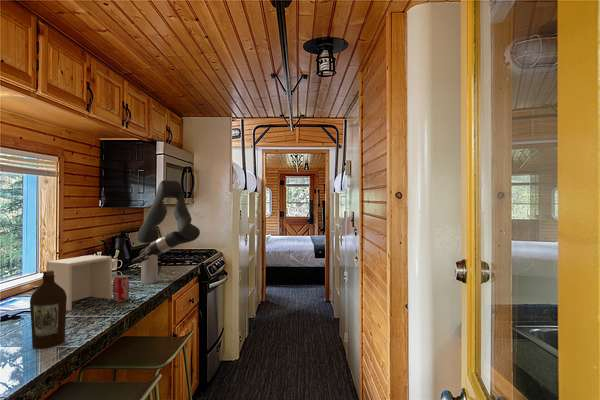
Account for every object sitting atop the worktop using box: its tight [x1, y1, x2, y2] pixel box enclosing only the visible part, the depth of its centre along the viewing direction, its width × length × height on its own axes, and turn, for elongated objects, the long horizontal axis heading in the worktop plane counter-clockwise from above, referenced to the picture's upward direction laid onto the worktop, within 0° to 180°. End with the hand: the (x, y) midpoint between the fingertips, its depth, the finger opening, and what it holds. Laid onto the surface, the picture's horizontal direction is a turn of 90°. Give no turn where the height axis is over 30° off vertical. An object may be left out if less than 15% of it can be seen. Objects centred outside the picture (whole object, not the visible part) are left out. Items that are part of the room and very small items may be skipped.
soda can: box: [112, 274, 130, 303], centre depth 184 cm, size 7×7×12 cm
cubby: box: [46, 254, 113, 312], centre depth 180 cm, size 15×22×21 cm
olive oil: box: [29, 270, 67, 349], centre depth 129 cm, size 11×11×25 cm
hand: (136, 258), depth 188 cm, fingers open, 8 cm apart
